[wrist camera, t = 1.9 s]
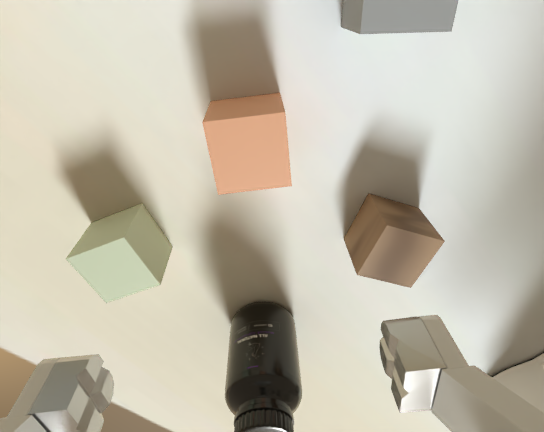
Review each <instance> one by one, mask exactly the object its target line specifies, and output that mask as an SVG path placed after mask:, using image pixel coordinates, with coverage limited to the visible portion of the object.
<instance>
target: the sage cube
mask: <svg viewBox="0 0 544 432" xmlns="http://www.w3.org/2000/svg"><path fill="white" fill-rule="evenodd" d="M171 250H172V245H171V244H170V243H169V241H168V240H167V238H166V237H165V235H164V234H163V232H162V231H161V230H160V228H159V227H158V225H157V224H156V222H155V221H154V219H153V218H152V216H151V215H150V214H149V212H148V211H147V209H146V208H145V206H144V205H143V203H141V204H139V205H136V206H133V207H131V208H128V209H126V210H123V211H120V212H118V213H115V214H113V215H110V216H107V217H105V218H102V219H100V220H97V221H94V222H92V223H91V224H90V226H89V227H88V228H87V230H86V231H85V233H84V234H83V235H82V237H81V238H80V240H79V241H78V242H77V244H76V245H75V247H74V248H73V249H72V251H71V252H70V254H69V255H68V256H67V258H66V260H67V261H68V262H69V263H70V264H71V265H72V266H73V267H74V269H75V270H76V271H77V272H78V273H79V274H80V275H81V276H82V277H83V278H84V279H85V280H86V282H87V283H88V284H89V285H90V286H91V287H92V288H93V289H94V290H95V291H96V292H97V293H98V295H99V296H100V297H101V298H102V299H103V300H104V301H105V302H106V303H108V302H111V301H114V300H117V299H120V298H123V297H126V296H129V295H132V294H135V293H138V292H141V291H143V290H146V289H149V288H152V287H155V286H158V285H161V281H162V278H163V275H164V272H165V269H166V266H167V263H168V260H169V257H170V253H171Z"/></svg>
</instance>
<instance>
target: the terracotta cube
mask: <svg viewBox="0 0 544 432" xmlns="http://www.w3.org/2000/svg"><path fill="white" fill-rule="evenodd" d="M203 127H204V131H205V136H206V141H207V145H208V150H209V154H210V159H211V164H212V168H213V173H214V177H215V182H216V187H217V191H218V195H219V194H228V193H236V192H245V191H253V190H262V189H270V188H279V187H287V186H292V184H291V173H290V161H289V150H288V138H287V127H286V116H285V110H284V106H283V102H282V99H281V95H280V93H273V94H265V95H257V96H249V97H241V98H232V99H224V100H216V101H211V102H210V104H209V107H208V109H207V112H206V115H205V117H204V120H203Z"/></svg>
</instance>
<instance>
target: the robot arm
mask: <svg viewBox="0 0 544 432" xmlns="http://www.w3.org/2000/svg"><path fill="white" fill-rule="evenodd" d="M381 331H382V334H383V338H382V339H381V340H380V354H381V360H382V363H383V367H384V370H385V373H386V374H387V375H388V376H389V377H390V378H392V386H391V390H392V393H393V395H394V398H395V401H396V404H397V406H398V409H399V412H400V413H402V412H414V411H427V410H432V413H433V414H434V415H435V416H436V417H437V418H438V419H439V420H440V421H441V422H442V423H443V424H444V425H445V426H446V427H447V428H448V429H449V430H450V431H451V432H544V353H543V354H542V355H540V356H538V357H537V358H535V359H533V360H531V361H528V362H525V363H523V364H520V365H517V366H514V367H512V368H509V369H507V370H505V371H503V372H501V373H499V374H497V375H496V376H494V377H491V376H489V375H488V374H486V373H485V372H483V371H482V370H480V369H479V368H477V367H476V366H469V365H468V364H467V362H466V360H465V359H464V357H463V355H462V353H461V352H460V350H459V348H458V347H457V345H456V343H455V342H454V340H453V338H452V337H451V335H450V333H449V332H448V330H447V328H446V326H445V325H444V323H443V321H442V320H441V318H440V317H439V316H438V315H429V316H421V317H409V318H402V319H394V320H386V321H383V322H382V324H381ZM103 362H104V361H103V360H102V358H101V357H100V355H99V354H96V355H85V356H73V357H62V358H52V359H44V360H42V361H41V362H40V363H39V364H38V365H37V366H36V368H35V370H34V372H33V373H32V375H31V377H30V378H29V380H28V382H27V384H26V385H25V387H24V389H23V390H22V392H21V394H20V395H19V397H18V399H17V401H16V402H15V404H14V406H13V408H12V409H11V411H10V413H9V414H8V416H7V417H6V418H1V419H0V432H100V431H101V428H102V425H103V422H104V419H103V416H102V412H103V411H104V410H105V409H106V408H107V407H108V406H109V405H110V402H111V399H112V396H113V388H114V382H113V377H112V375H111V373H110V371H109V370H107V369H105V368H103V367H102V364H103Z"/></svg>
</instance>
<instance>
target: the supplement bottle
mask: <svg viewBox="0 0 544 432" xmlns="http://www.w3.org/2000/svg"><path fill="white" fill-rule="evenodd" d="M301 398H302V386H301V377H300V367H299V358H298V348H297V339H296V330H295V323H294V319H293V317H292V315H291V314H290V313H289V311H288V310H286V309H285V308H284V307H282V306H280V305H278V304H275V303H270V302H257V303H252V304H249V305H247V306H245V307H243V308H241V309H240V310H239V311H238V312H237V313H236V314H235V315H234V317H233V319H232V322H231V330H230V340H229V352H228V363H227V375H226V386H225V400H226V403H227V406H228V408H229V409H230V411H231V412H232V413H233V414H234V415H235V417H234V427H235V430H234V432H294V430H293V425H294V418H293V413H294V412H295V411H296V409H297V408H298V406H299V404H300V402H301Z"/></svg>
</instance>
